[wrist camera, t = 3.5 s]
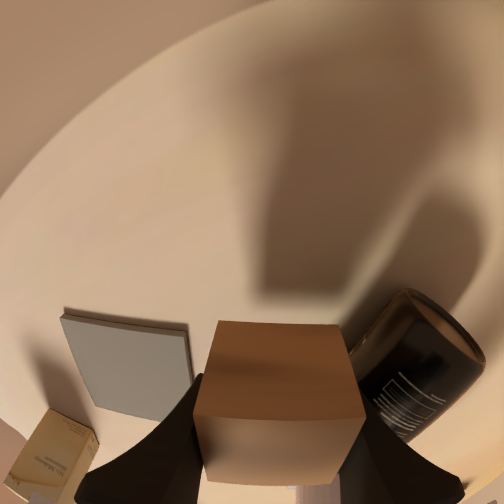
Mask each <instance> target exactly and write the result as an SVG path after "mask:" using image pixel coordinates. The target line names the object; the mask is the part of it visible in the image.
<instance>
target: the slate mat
mask: <svg viewBox="0 0 504 504" xmlns="http://www.w3.org/2000/svg"><path fill="white" fill-rule="evenodd" d="M60 321H61V324H62V327H63V330H64V333H65V336H66V339H67V341H68V344H69V347H70V349H71V352H72V355H73V357H74V360H75V362H76V364H77V367H78V369H79V372H80V374H81V376H82V379H83V381H84V383H85V385H86V387H87V390H88V392H89V394H90V396H91V398H92V400H93V402H94V404H95V406H97V407H100V408H104V409H107V410H111V411H115V412H119V413H123V414H127V415H131V416H135V417H140V418H144V419H149V420H154V421H159V422H162V421H163V420H164V419H165V418H166V416H167V415H168V414H169V413H170V412H171V411H172V410H173V409H174V407H175V406H176V405H177V404H178V402H179V401H180V400H181V398H182V397H183V396H184V394H185V393H186V392H187V390H188V389H189V387H190V386H191V385H192V383H193V379H192V373H191V366H190V359H189V351H188V344H187V336H186V331H178V330H168V329H160V328H151V327H143V326H136V325H128V324H122V323H115V322H108V321H102V320H96V319H90V318H84V317H79V316H73V315H68V314H63V315H62V316H61V317H60Z"/></svg>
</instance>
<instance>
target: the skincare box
mask: <svg viewBox="0 0 504 504" xmlns="http://www.w3.org/2000/svg"><path fill="white" fill-rule="evenodd" d="M98 448H99V445H98V442H97V440H96V437H95V435H94V433H93V430H91V429H90V428H88V427H85V426H83V425H81V424H79V423H77V422H75V421H73V420H71V419H69V418H67V417H65V416H63V415H61V414H60V413H58V412H56V411H54V410H52V409H48V411H47V412H46V413H45V415H44V417H43V418H42V420H41V421H40V423H39V424H38V426H37V427H36V429H35V430H34V432H33V434H32V435H31V437H30V438H29V440H28V441H27V443H26V445H25V447H24V448H23V450H22V451H21V453H20V455H19V456H18V458H17V459H16V461H15V463H14V465H13V466H12V468H11V470H10V472H9V473H8V475H7V477H6V479H5V480H4V482H3V483H4V485H6V486H7V487H8V488H9V489H10V490H12V491H13V492H14V493H15V494H17V495H18V496H19V497H20V498H22V499H23V500H25V501H26V502H29V500H30V498H31V496H32V494H33V492H37V493H38V494H40V495H42V496H44V497H45V498H47V499H49V500H51V501H53V502H54V503H56V504H73V502H74V495H75V493H76V491H77V489H78V486H79V484H80V482H81V481H82V479H83V478H84V476H85V474H86V473H87V472H88V469H89V467H90V465H91V463H92V461H93V459H94V457H95V455H96V453H97V451H98Z"/></svg>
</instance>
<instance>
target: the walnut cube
mask: <svg viewBox="0 0 504 504" xmlns="http://www.w3.org/2000/svg"><path fill="white" fill-rule="evenodd" d="M193 418H194V423H195V427H196V432H197V437H198V442H199V446H200V451H201V455H202V459H203V464H204V468H205V472H206V476H207V480H208V481H211V482H220V483H230V484H242V485H260V486H305V485H323V484H331V482H332V481H333V479H334V477H335V476H336V474H337V472H338V471H339V469H340V467H341V465H342V464H343V462H344V460H345V458H346V457H347V455H348V453H349V451H350V449H351V447H352V445H353V443H354V442H355V440H356V438H357V436H358V434H359V432H360V430H361V428H362V426H363V423H364V421H365V419H366V413H365V410H364V406H363V403H362V399H361V395H360V392H359V389H358V385H357V382H356V378H355V375H354V372H353V368H352V365H351V362H350V359H349V355H348V352H347V349H346V346H345V343H344V340H343V337H342V333H341V330H340V327H339V325H322V324H278V323H254V322H236V321H221V320H219V321H218V324H217V328H216V331H215V335H214V339H213V342H212V346H211V349H210V353H209V356H208V360H207V364H206V367H205V371H204V375H203V378H202V382H201V385H200V389H199V393H198V396H197V400H196V404H195V408H194V411H193Z"/></svg>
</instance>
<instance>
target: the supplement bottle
mask: <svg viewBox="0 0 504 504" xmlns="http://www.w3.org/2000/svg"><path fill="white" fill-rule="evenodd" d="M348 355H349V359H350V362H351V365H352V368H353V372H354V375H355V378H356V382H357V385H358V387H359V388H360V390H361V391H362V393H363V394H364V396H365V397H366V398H367V400H368V401H369V403H370V404H371V405H372V407H373V408H374V409H375V410H376V412H377V413H378V414H379V415H380V417H381V418H382V419H383V420H384V421H385V423H386V424H387V425H388V426H389V427H390V428H391V429H392V430H393V431H394V433H395V434H396V435H397V436H398V437H399V438H401V439H402V440H403V441H404V442H405V443H406V444H407V443H409V442H410V441H411V440H413V439H414V438H415V437H416V436H418V435H419V434H420V433H421V432H423V431H424V430H425V429H426V428H427V427H429V426H430V425H431V424H432V423H433V422H435V421H436V420H437V419H438V418H439V417H440V416H441V415H442V414H444V413H445V412H446V411H447V410H448V409H449V408H450V407H451V406H452V405H453V404H454V403H455V402H456V401H457V400H458V399H459V398H460V397H461V396H462V395H463V394H464V393H465V392H466V391H467V390H468V389H469V388H470V387H471V386H472V385H473V384H474V383H475V382H476V381H477V379H478V378H479V377H480V376H481V375H482V373H483V372H484V369H485V366H486V359H485V356H484V354H483V352H482V350H481V348H480V347H479V345H478V344H477V343H476V341H475V340H474V339H473V338H472V336H471V335H470V334H469V333H468V332H467V331H466V330H465V329H464V328H463V327H462V326H461V325H460V324H459V323H458V322H457V321H456V320H455V319H454V318H453V317H452V316H451V315H450V314H449V313H448V312H446V311H445V310H444V309H443V308H442V307H440V306H439V305H438V304H436V303H435V302H434V301H432V300H431V299H429V298H428V297H426V296H425V295H423V294H421V293H420V292H418V291H416V290H413V289H404V290H402V291H400V292H399V293H398V294H397V295H396V296H395V297H394V298H393V300H392V301H391V302H390V303H389V305H388V306H387V307H386V308H385V310H384V311H383V312H382V314H381V315H380V316H379V317H378V319H377V320H376V321H375V322H374V324H373V325H372V326H371V327H370V329H369V330H368V331H367V332H366V333H365V335H364V336H363V337H362V338H361V339H360V341H359V342H358V343H357V344H356V345H355V347H354V348H353V349H352V350H351V351H350V352H349V353H348ZM338 473H339V471H338V472H337V474H338Z"/></svg>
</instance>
